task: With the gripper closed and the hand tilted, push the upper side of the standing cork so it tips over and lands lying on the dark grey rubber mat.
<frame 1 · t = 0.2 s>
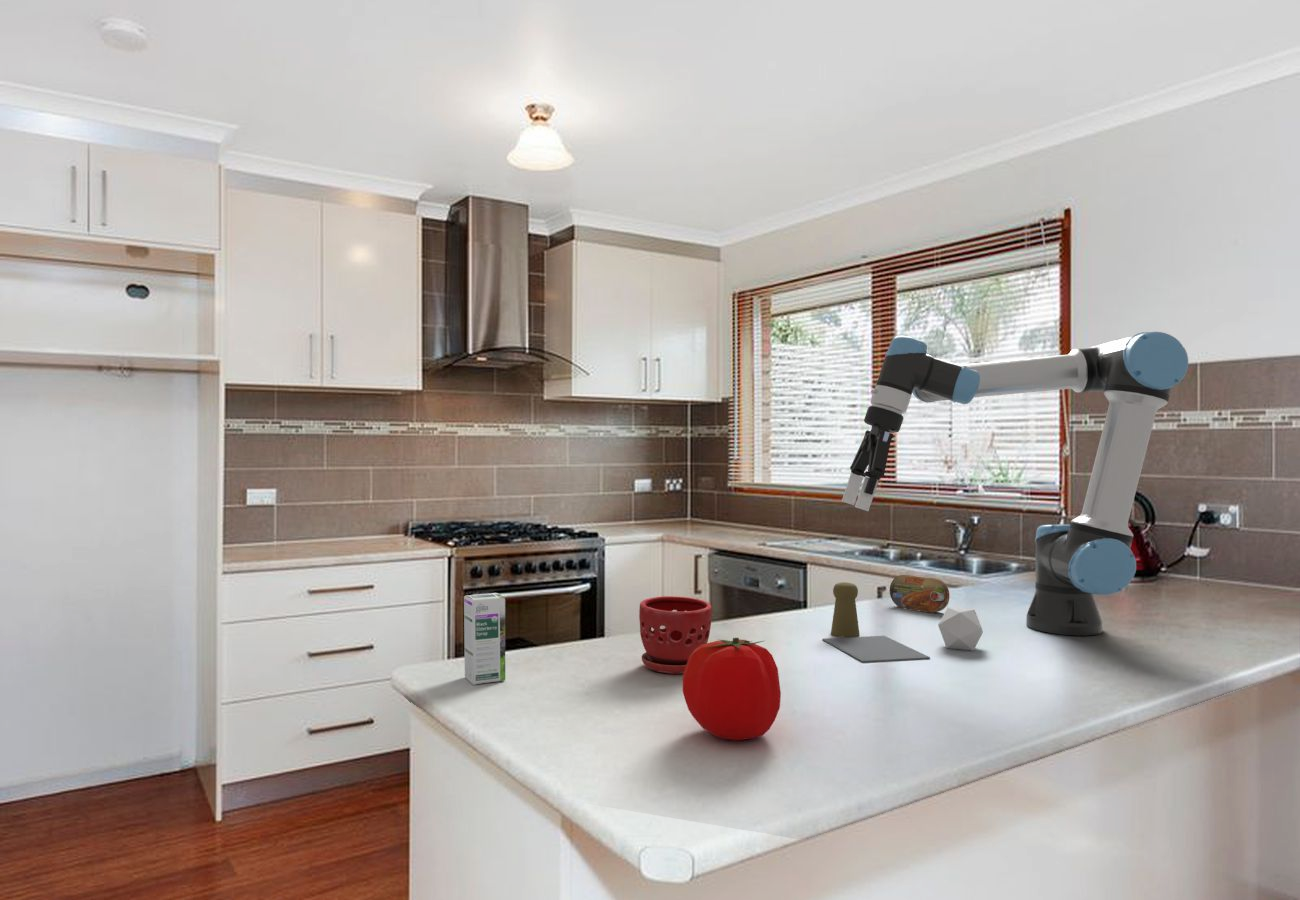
hand: (854, 506, 177), 28 cm above the counter, tool tilted 20°, fingers open, 13 cm apart
plant pot: (675, 669, 153), on the counter
die: (960, 648, 169), on the counter
mat: (873, 649, 168), on the counter
tomato: (731, 734, 119), on the counter
syrup box: (484, 680, 145), on the counter
tin: (919, 610, 207), on the counter
cork: (845, 635, 180), on the counter
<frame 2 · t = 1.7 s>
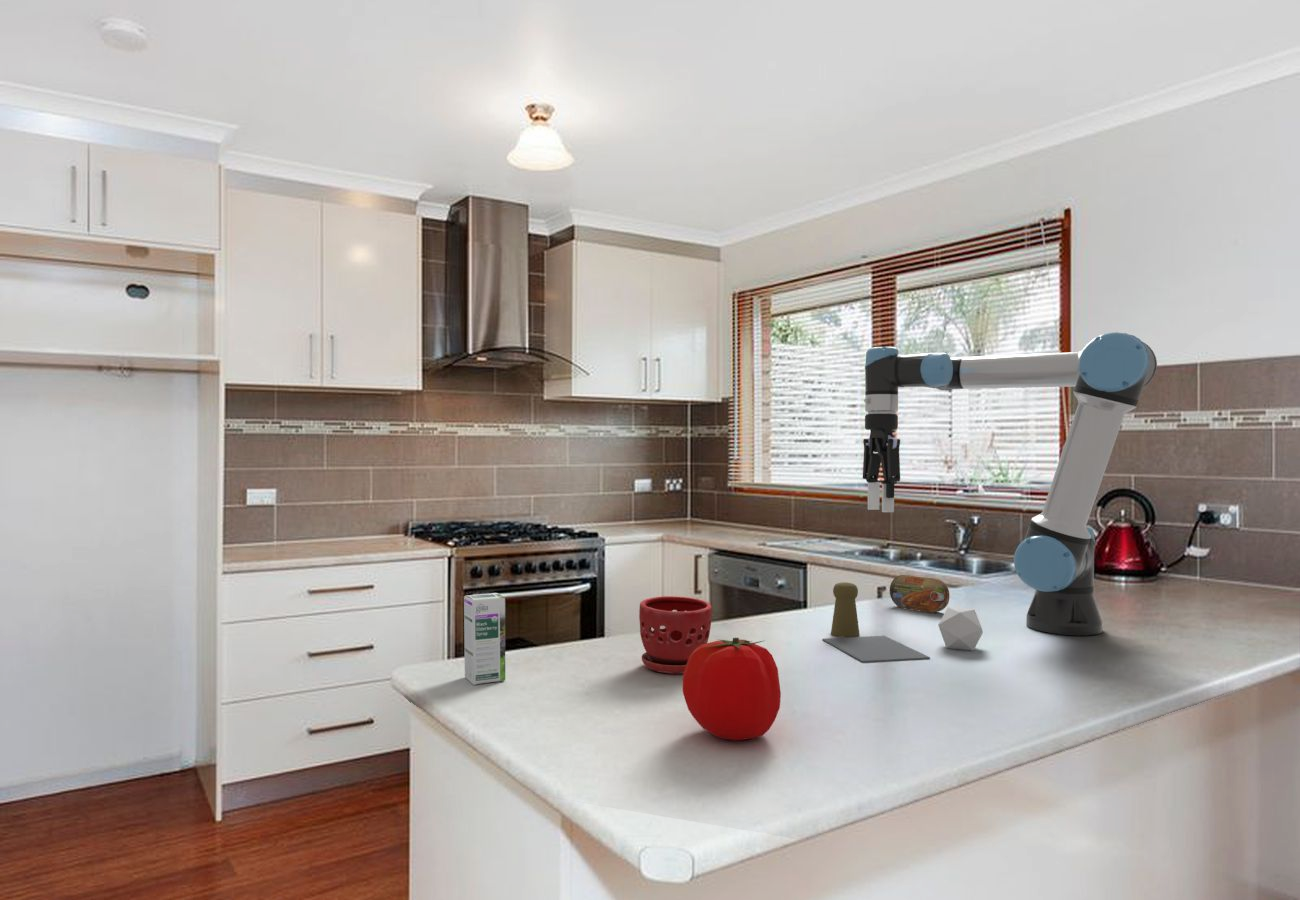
hand: (880, 510, 199), 25 cm above the counter, tool pointing down, fingers open, 6 cm apart
nothing on the counter moved.
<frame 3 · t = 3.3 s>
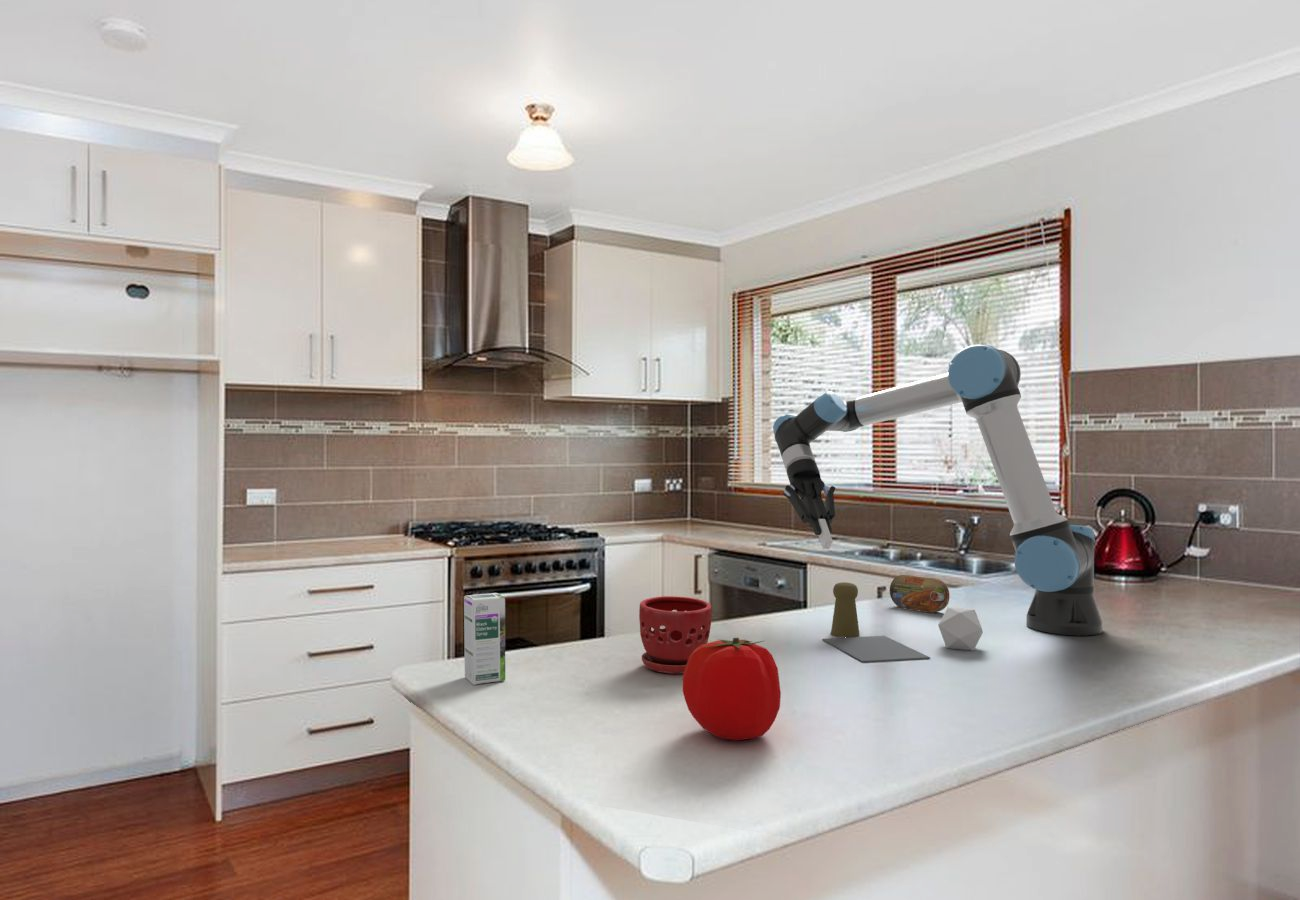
hand: (827, 545, 190), 18 cm above the counter, tool tilted 45°, fingers closed
nothing on the counter moved.
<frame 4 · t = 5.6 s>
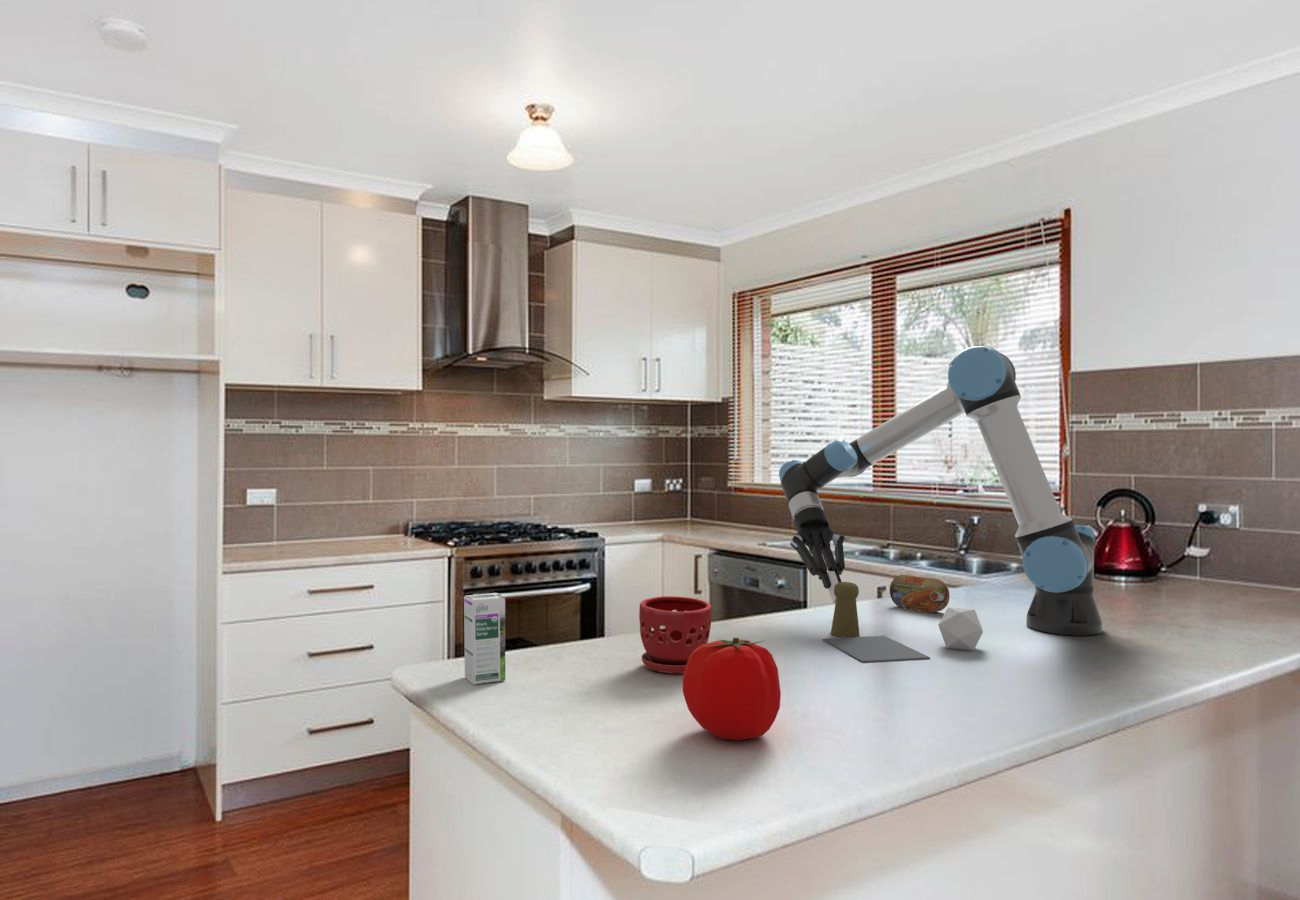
hand: (838, 599, 183), 7 cm above the counter, tool tilted 45°, fingers closed
cork: (845, 634, 180), on the counter, touching gripper
everything else where it was.
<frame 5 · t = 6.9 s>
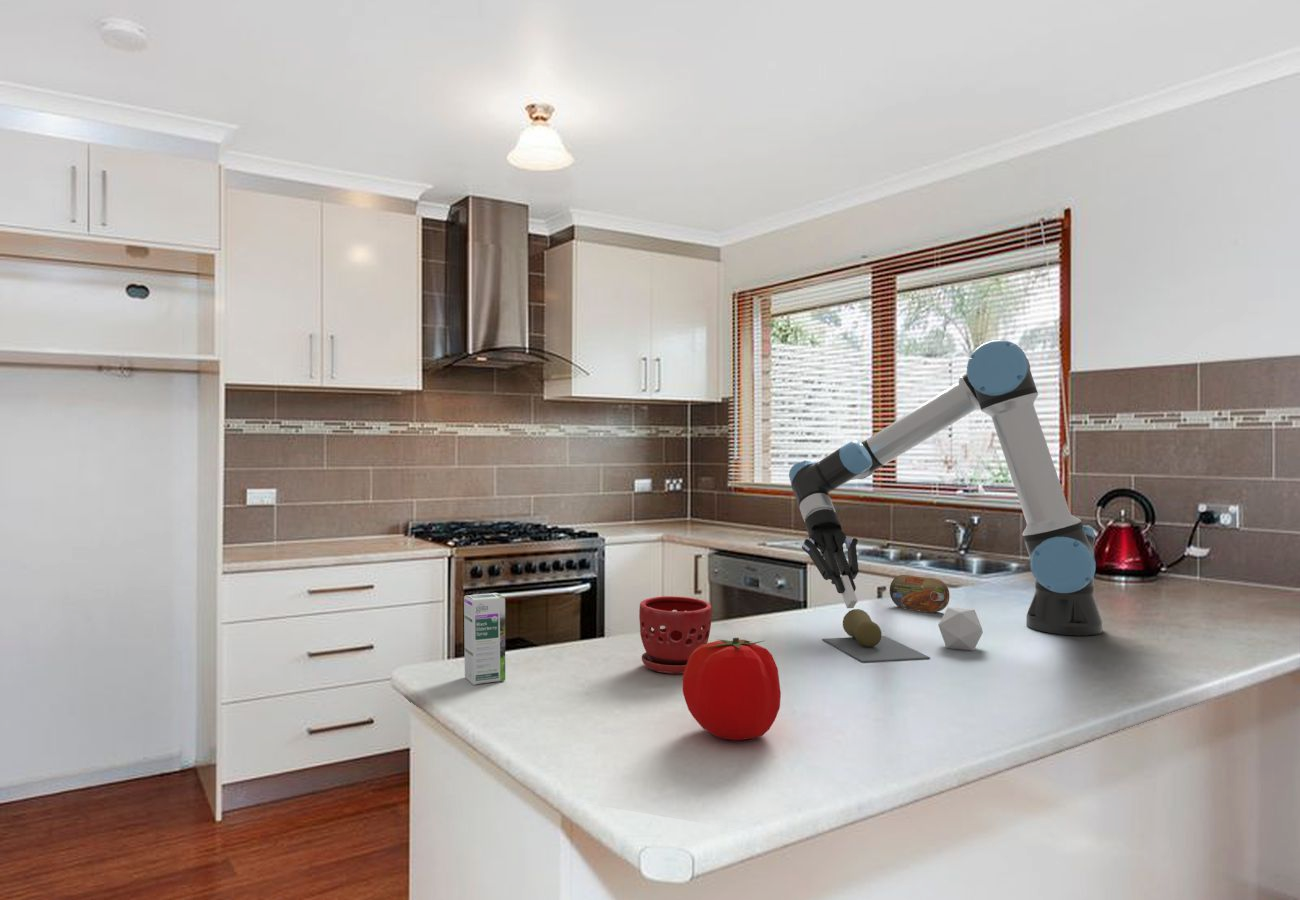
hand: (852, 604, 177), 7 cm above the counter, tool tilted 45°, fingers closed
cork: (856, 623, 177), point 3 cm above the counter, touching mat
everything else where it was.
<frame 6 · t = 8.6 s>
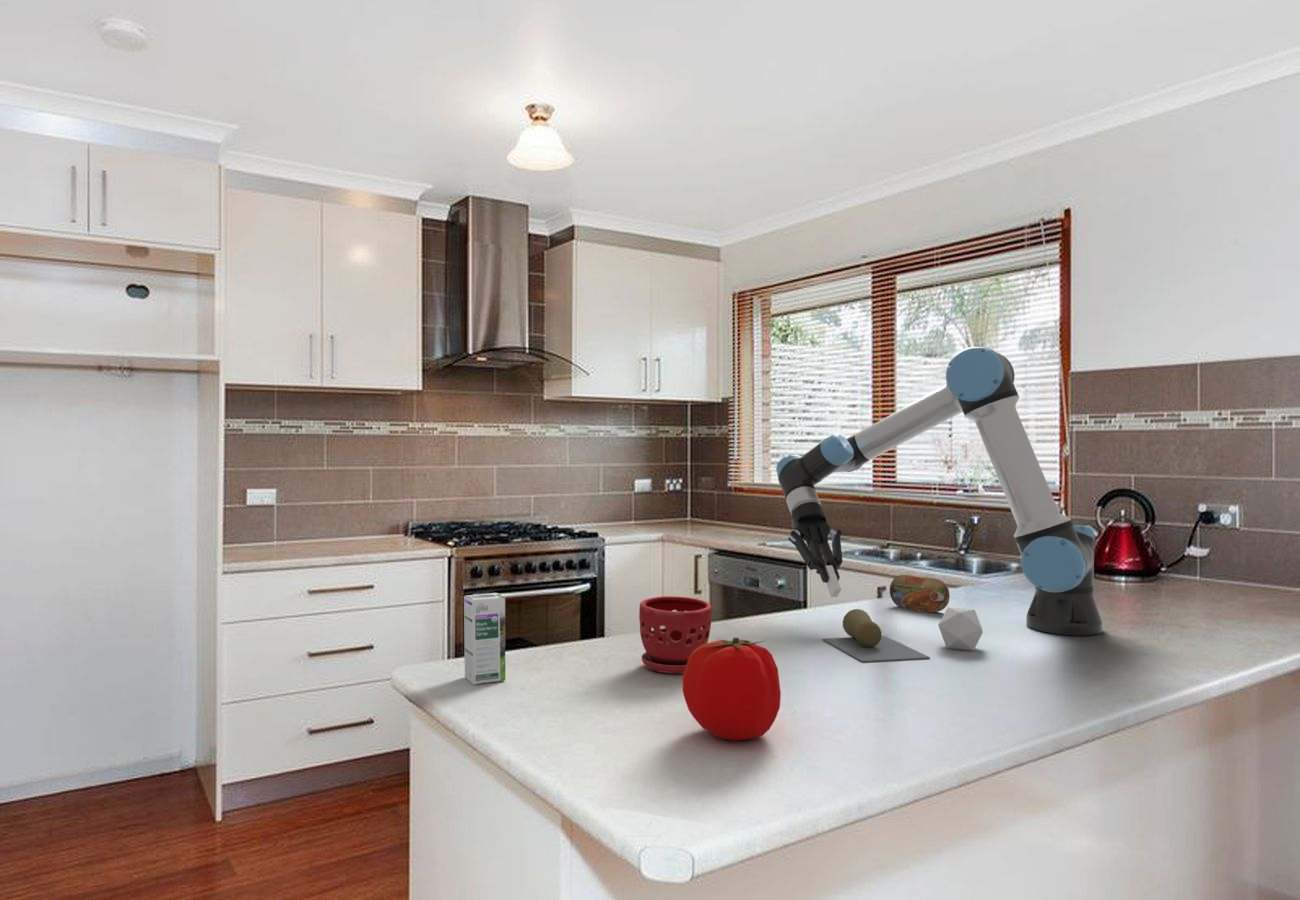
hand: (836, 593, 184), 8 cm above the counter, tool tilted 45°, fingers closed
nothing on the counter moved.
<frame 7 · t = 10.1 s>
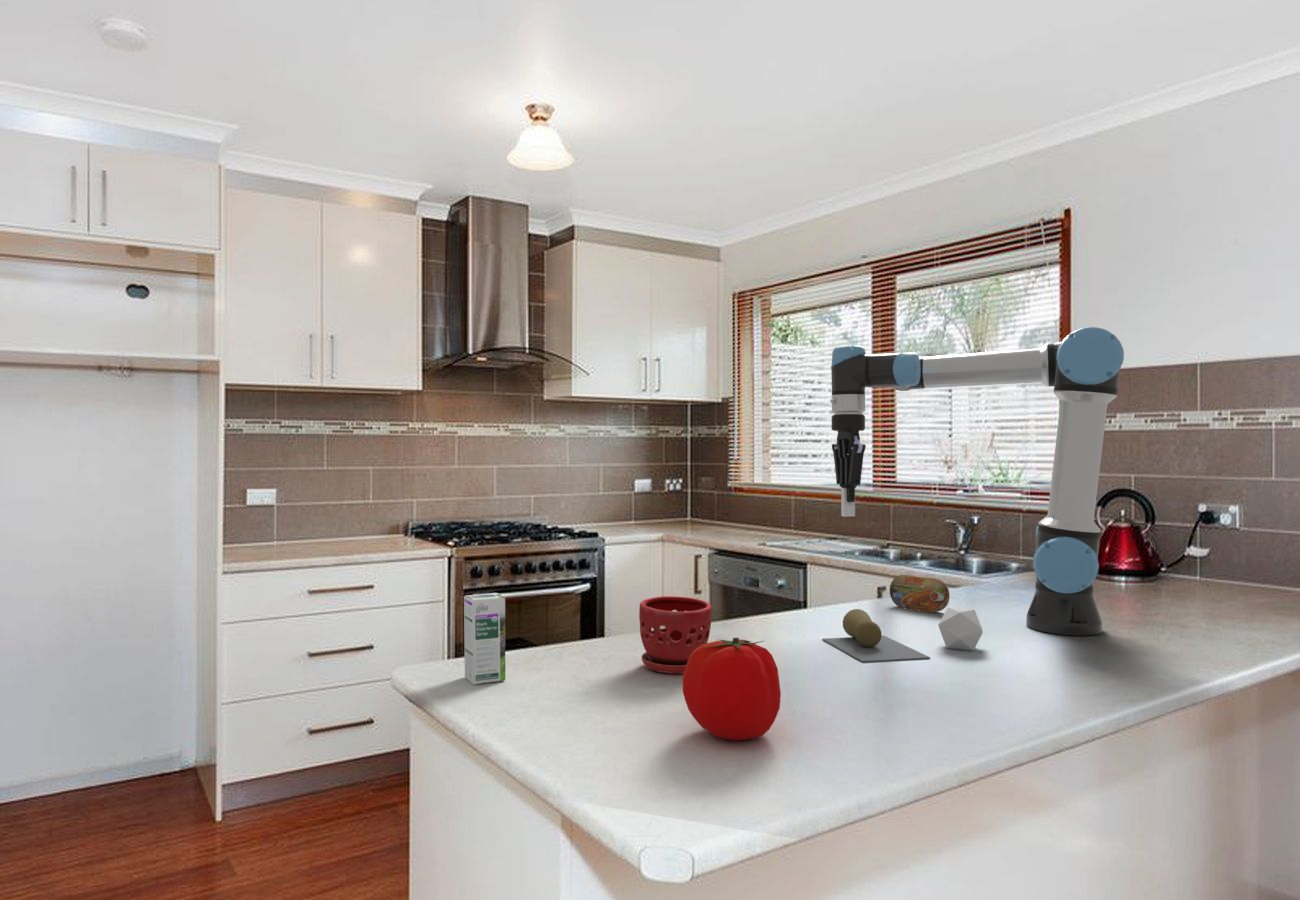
hand: (848, 516, 194), 24 cm above the counter, tool pointing down, fingers closed
nothing on the counter moved.
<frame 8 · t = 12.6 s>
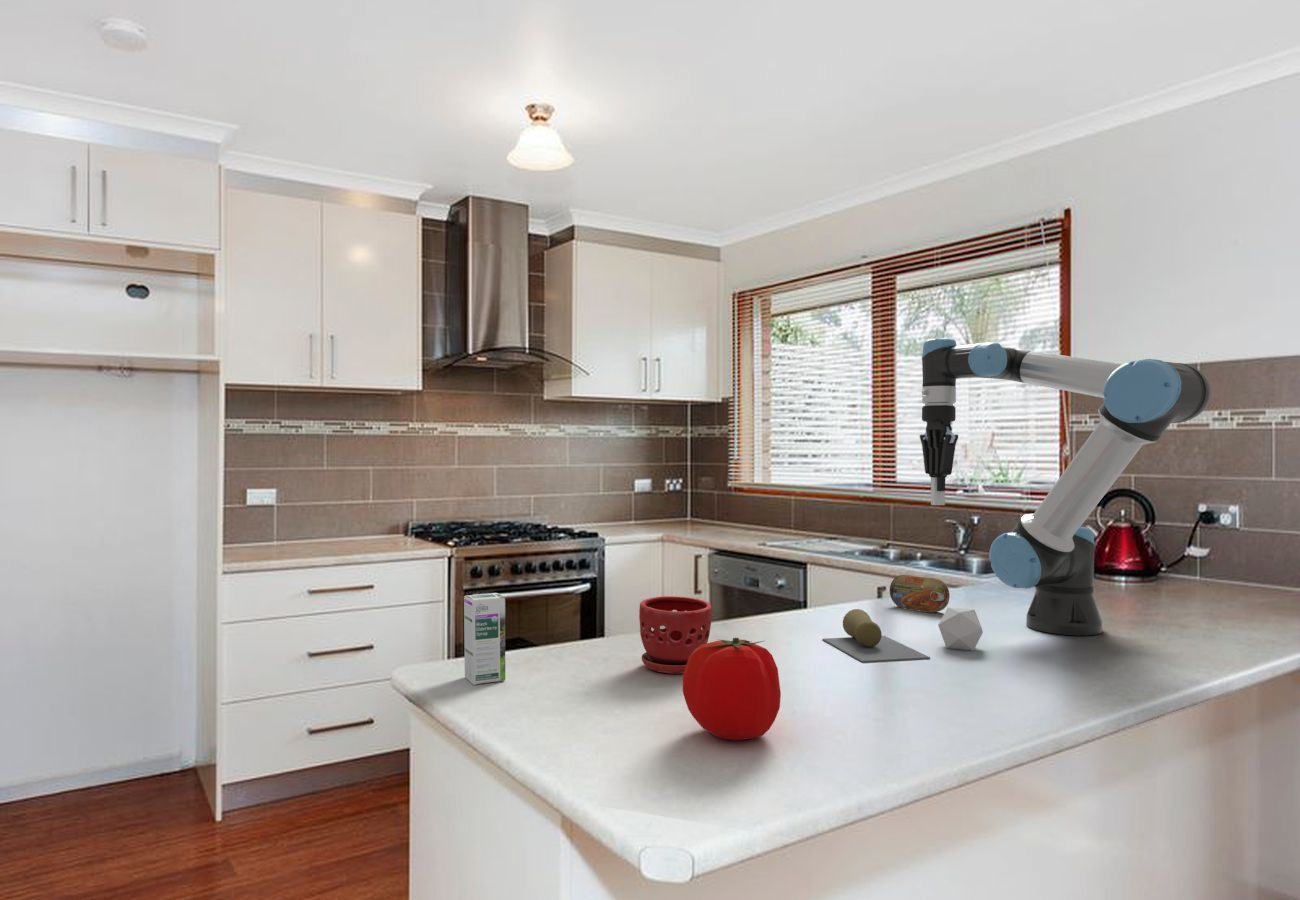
hand: (937, 504, 199), 26 cm above the counter, tool pointing down, fingers closed
nothing on the counter moved.
at the end: cork tilted 91°; cork inside the target area (8.2 cm from its centre), point 3.0 cm above the counter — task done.
